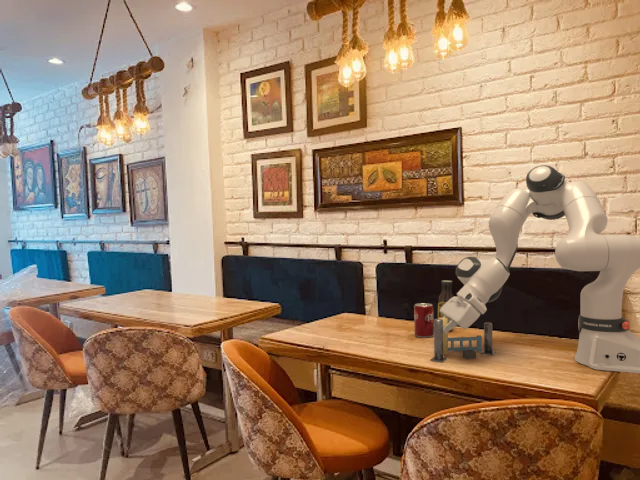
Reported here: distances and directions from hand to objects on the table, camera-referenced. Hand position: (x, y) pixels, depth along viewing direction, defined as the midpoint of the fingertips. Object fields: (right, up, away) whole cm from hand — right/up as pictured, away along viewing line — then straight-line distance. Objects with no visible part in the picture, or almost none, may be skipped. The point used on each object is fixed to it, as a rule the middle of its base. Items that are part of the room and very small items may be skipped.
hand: (441, 330), depth 169 cm
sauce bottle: (+10, -7, +35) cm, 36 cm away
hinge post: (+16, -8, +1) cm, 18 cm away
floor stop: (+8, -8, -4) cm, 12 cm away
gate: (+6, -7, +1) cm, 10 cm away
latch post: (-2, -9, -5) cm, 10 cm away
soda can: (0, -7, +27) cm, 28 cm away
